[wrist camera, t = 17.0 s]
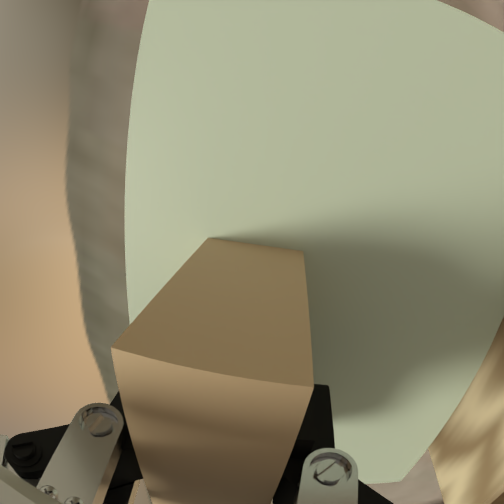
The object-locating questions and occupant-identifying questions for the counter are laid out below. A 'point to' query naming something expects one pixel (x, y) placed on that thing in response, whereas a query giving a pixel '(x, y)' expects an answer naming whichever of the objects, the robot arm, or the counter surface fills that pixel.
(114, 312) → the counter surface
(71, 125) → the counter surface
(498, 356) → the tan wooden open box
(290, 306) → the lid
